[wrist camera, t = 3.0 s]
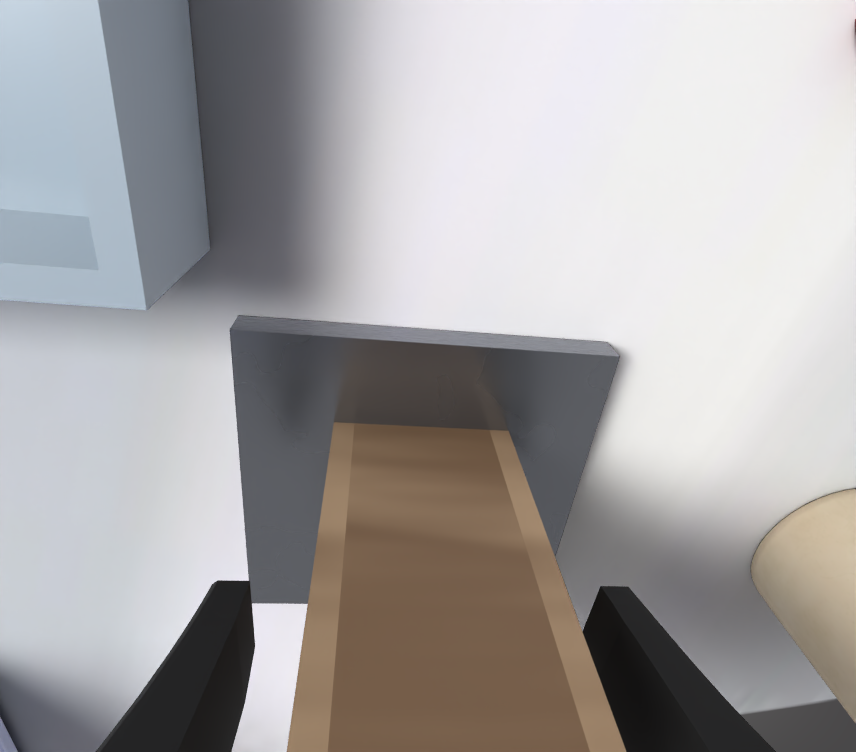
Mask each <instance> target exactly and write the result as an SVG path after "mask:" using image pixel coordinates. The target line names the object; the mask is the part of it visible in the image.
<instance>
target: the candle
mask: <svg viewBox="0 0 856 752" xmlns="http://www.w3.org/2000/svg"><path fill="white" fill-rule="evenodd" d="M751 576H752V579H753V582H754V584H755V586H756V588H757V590H758V592H759V593H760V595H761V596H762V597H763V599H764V600H765V602H766V603H767V604H768V606H769V607H770V609H771V610H772V611H773V613H774V614H775V616H776V617H777V618H778V620H779V621H780V622H781V624H782V625H783V626H784V628H785V629H786V631H787V632H788V633H789V635H790V636H791V637H792V639H793V640H794V641H795V643H796V644H797V645H798V647H799V648H800V649H801V651H802V652H803V653H804V655H805V656H806V657H807V659H808V660H809V661H810V663H811V664H812V665H813V667H814V668H815V670H816V671H817V672H818V674H819V675H820V676H821V678H822V679H823V680H824V682H825V683H826V684H827V686H828V687H829V688H830V690H831V691H832V692H833V694H834V695H835V696H836V698H837V699H838V700H839V702H840V703H841V704H842V706H843V707H844V709H845V710H846V711H847V713H848V714H849V715H850V716H851V718H852V719H853V721H854V722H855V723H856V489H851V490H845V491H841V492H837V493H833V494H830V495H827V496H824V497H822V498H819V499H817V500H815V501H812V502H810V503H808V504H807V505H805V506H803V507H801V508H799V509H798V510H796V511H794V512H793V513H791V514H790V515H788V516H787V517H786V518H784V519H783V520H782V521H781V522H779V523H778V524H777V525H776V526H775V527H774V528H773V529H772V530H771V531H770V532H769V533H768V534H767V535H766V536H765V538H764V539H763V540H762V542H761V543H760V545H759V546H758V548H757V550H756V552H755V554H754V557H753V560H752V564H751Z"/></svg>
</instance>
